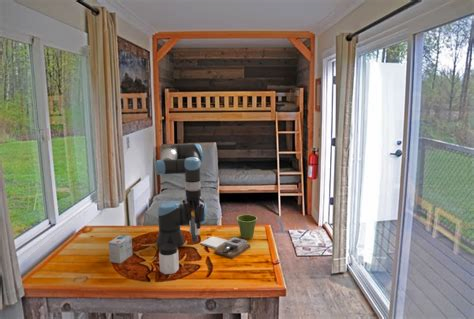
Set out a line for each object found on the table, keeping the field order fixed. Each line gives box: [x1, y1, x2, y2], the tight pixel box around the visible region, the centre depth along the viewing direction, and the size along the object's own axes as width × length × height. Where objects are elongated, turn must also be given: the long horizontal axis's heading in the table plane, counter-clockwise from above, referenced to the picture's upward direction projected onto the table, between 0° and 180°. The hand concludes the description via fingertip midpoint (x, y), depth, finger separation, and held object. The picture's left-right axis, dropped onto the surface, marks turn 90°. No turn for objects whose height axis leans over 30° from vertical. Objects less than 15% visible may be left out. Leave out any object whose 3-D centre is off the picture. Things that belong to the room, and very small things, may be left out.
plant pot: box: [236, 214, 258, 239], centre depth 219 cm, size 12×12×11 cm
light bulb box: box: [107, 234, 133, 264], centre depth 193 cm, size 11×7×11 cm, turn 160°
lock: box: [214, 236, 251, 259], centre depth 201 cm, size 12×16×4 cm
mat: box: [199, 236, 229, 250], centre depth 211 cm, size 11×11×1 cm
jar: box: [158, 243, 180, 275], centre depth 179 cm, size 9×8×12 cm
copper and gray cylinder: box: [191, 210, 199, 243], centre depth 193 cm, size 3×3×16 cm
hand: (194, 233), depth 193 cm, fingers closed on copper and gray cylinder, 3 cm apart
